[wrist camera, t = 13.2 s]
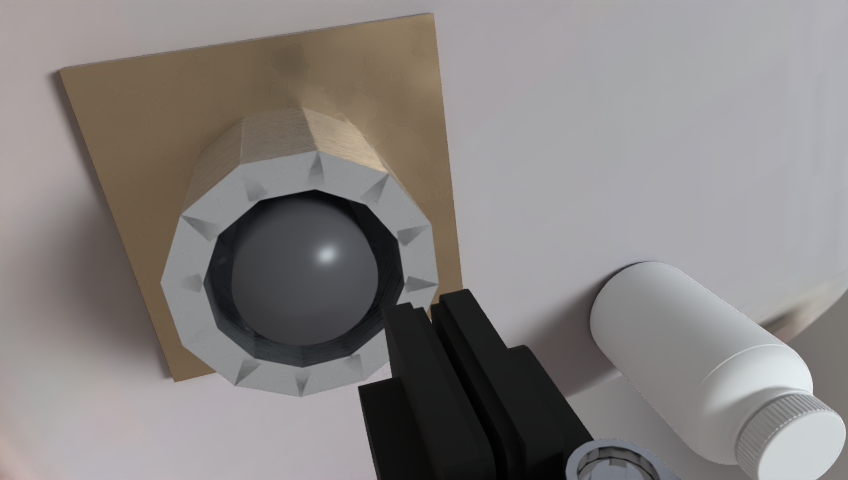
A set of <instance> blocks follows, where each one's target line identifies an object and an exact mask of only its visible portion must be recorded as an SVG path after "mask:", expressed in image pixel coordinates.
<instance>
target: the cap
mask: <svg viewBox="0 0 848 480" xmlns="http://www.w3.org/2000/svg"><path fill="white" fill-rule="evenodd" d="M377 285H378V270H377V264H376V260H375V258H374V255H373V253H372V251H371V248H370V246H369V244H368V241H367V239H366V237H365V235H364V232H363V230H362V228H361V225H360V223H359V221H358V218H357V216H356V214H355V212H354V210H353V208H352V206H351V205H350V203H349V202H348V201H347V200H346V198H343V197H340V196H336V195H333V194H330V193H327V192H324V191H320V190H317V189H313V190H308V191H303V192H298V193H293V194H288V195H283V196H278V197H273V198H268V199H263V200H259V201H258V202H257V203H256V204H255V205H254V206H252V207H251V208H250V209H249V210H248V211H246V212H245V213H244V214H243V215H242V216H240V217H239V218H238V221H237V225H236V229H235V242H234V255H233V268H232V281H231V287H232V295H233V300H234V303H235V305H236V308H237V310H238V312H239V313H240V315H241V317H242V318H243V319H244V320H245V322H246V323H247V324H248V325H249V326H250V327H251V328H252V329H254V330H255V331H256V332H258V333H259V334H261V335H262V336H264V337H266V338H268V339H271V340H273V341H276V342H279V343H283V344H289V345H314V344H319V343H323V342H326V341H329V340H332V339H334V338H336V337H339V336H340V335H342V334H344V333H346V332H347V331H349V330H350V329H351V328H353V327H354V326H355V325H356V324H357V323H358V322H359V321H360V320H361V319H362V318H363V317H364V315H365V314H366V313H367V311H368V310H369V308H370V306H371V304H372V302H373V300H374V297H375V294H376V291H377Z"/></svg>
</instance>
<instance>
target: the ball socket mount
mask: <svg viewBox="0 0 848 480" xmlns="http://www.w3.org/2000/svg"><path fill="white" fill-rule="evenodd" d="M59 73H60V76H61V79H62V81H63V84H64V87H65V89H66V92H67V95H68V97H69V100H70V103H71V105H72V108H73V111H74V114H75V116H76V119H77V122H78V124H79V127H80V130H81V132H82V135H83V138H84V140H85V143H86V146H87V148H88V151H89V154H90V157H91V159H92V162H93V165H94V167H95V170H96V173H97V175H98V178H99V181H100V183H101V186H102V189H103V191H104V194H105V197H106V200H107V202H108V205H109V208H110V210H111V213H112V216H113V218H114V221H115V224H116V226H117V229H118V232H119V234H120V237H121V240H122V243H123V245H124V248H125V251H126V253H127V256H128V259H129V261H130V264H131V267H132V269H133V272H134V275H135V277H136V280H137V283H138V286H139V288H140V291H141V294H142V296H143V299H144V302H145V304H146V307H147V310H148V312H149V315H150V318H151V321H152V323H153V326H154V329H155V331H156V334H157V337H158V339H159V342H160V345H161V347H162V350H163V353H164V355H165V358H166V361H167V364H168V366H169V369H170V372H171V374H172V377H173V380H174V382H178V381H183V380H187V379H191V378H195V377H199V376H203V375H207V374H211V373H215V372H218V373H219V374H220V375H222V376H223V377H224V378H226V379H227V380H228V381H229V382H231V383H232V384H233V385H234V386H240V387H246V388H251V389H257V390H263V391H269V392H274V393H280V394H286V395H292V396H298V397H303V396H307V395H310V394H314V393H318V392H322V391H326V390H330V389H333V388H337V387H341V386H345V385H349V384H353V383H356V382H360V381H364V380H366V379H367V378H368V377H369V376H371V375H372V374H373V373H374V372H376V371H377V370H378V369H379V368H381V367H382V366H383V365H384V364H385V363H387V362H388V361H389V354H388V348H387V342H386V335H385V329H384V323H383V316H382V308H384V307H389V306H393V305H398V304H402V303H406V302H411V304H412V306H413V308H419V307H423V308H424V309H425V311H426V313H427V315H428V317H429V319H431V311H430V306H431V305H432V304H436V303H439V296H440V295H441V294H446V293H450V292H454V291H459V290H463V285H462V276H461V266H460V257H459V248H458V238H457V229H456V219H455V210H454V200H453V191H452V182H451V172H450V163H449V153H448V144H447V135H446V125H445V116H444V106H443V97H442V87H441V78H440V69H439V59H438V50H437V40H436V31H435V21H434V13H423V14H416V15H409V16H403V17H396V18H389V19H383V20H376V21H369V22H363V23H356V24H349V25H343V26H336V27H329V28H323V29H316V30H309V31H303V32H296V33H289V34H283V35H276V36H269V37H263V38H256V39H249V40H243V41H236V42H229V43H223V44H216V45H209V46H203V47H196V48H189V49H183V50H176V51H169V52H163V53H156V54H149V55H143V56H136V57H129V58H123V59H116V60H109V61H103V62H96V63H89V64H83V65H76V66H69V67H64V68H62V69H59ZM313 189H317V190H320V191H324V192H327V193H330V194H333V195H336V196H340V197H343V198H346V200H347V201H348V202H349V203H350V205H351V206H352V208H353V210H354V212H355V214H356V216H357V218H358V221H359V223H360V225H361V228H362V230H363V232H364V235H365V237H366V239H367V241H368V244H369V246H370V248H371V251H372V253H373V255H374V258H375V260H376V264H377V270H378V285H377V291H376V294H375V297H374V300H373V302H372V304H371V306H370V308H369V310H368V311H367V313H366V314H365V315H364V317H363V318H362V319H361V320H360V321H359V322H358V323H357V324H356V325H355V326H354V327H353V328H351V329H350V330H349V331H347V332H346V333H344V334H342V335H340V336H339V337H336V338H334V339H332V340H329V341H326V342H323V343H319V344H314V345H289V344H283V343H279V342H276V341H273V340H271V339H268V338H266V337H264V336H262V335H261V334H259V333H258V332H256V331H255V330H254V329H252V328H251V327H250V326H249V325H248V324H247V323H246V322H245V320H244V319H243V318H242V317H241V315H240V313H239V312H238V310H237V308H236V305H235V303H234V300H233V295H232V287H231V281H232V268H233V255H234V242H235V229H236V225H237V221H238V218H239V217H240V216H242V215H243V214H244V213H245V212H246V211H248V210H249V209H250V208H251V207H252V206H254V205H255V204H256V203H257V202H258V201H259V200H263V199H268V198H273V197H278V196H283V195H288V194H293V193H298V192H303V191H308V190H313Z"/></svg>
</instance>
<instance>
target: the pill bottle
mask: <svg viewBox="0 0 848 480" xmlns="http://www.w3.org/2000/svg"><path fill="white" fill-rule="evenodd" d="M590 329H591V333H592V336H593V339H594V341H595V342H596V344H597V345H598V347H599V348H600V350H601V351H602V352H603V353H604V354H605V355H606V357H607V358H608V359H609V360H610V361H611V362H612V363H613V364H614V365H615V366H616V367H617V369H618V370H619V371H620V372H621V373H622V374H623V375H624V376H625V377H626V378H627V379H628V381H629V382H630V383H631V384H632V385H633V386H634V387H635V388H636V389H637V390H638V391H639V392H640V394H641V395H642V396H643V397H644V398H645V399H646V400H647V401H648V402H649V404H650V405H651V406H652V407H653V408H654V409H655V410H656V411H657V412H658V413H659V415H661V417H662V418H663V419H664V420H665V421H666V422H667V423H668V424H669V425H670V426H671V428H672V429H673V430H674V431H675V432H676V433H677V434H678V435H679V436H680V438H682V440H683V441H684V442H685V443H686V444H687V445H688V446H689V447H690V448H691V449H692V450H693V451H694V452H696V453H697V454H699V455H701V456H702V457H704V458H706V459H708V460H710V461H713V462H716V463H720V464H739V465H740V467H741V468H742V469H743V470H744V471H745V472H746V473H747V474H748V475H749V476H750V477H751V478H752V480H816V479H817V478H819V477H820V476H821V475H822V474H824V473H825V472H826V471H827V470H828V469H829V468H830V466H831V465H832V464H833V463H834V461H835V460H836V459H837V457H838V456H839V454H840V452H841V450H842V448H843V445H844V442H845V437H846V430H845V425H844V423H843V420H842V419H841V417H840V416H839V415H838V414H837V413H836V412H834V411H833V410H832V409H831V408H829V407H828V406H827V405H825V404H824V403H823V402H821V401H820V400H819V399H817V398H815V397H814V396H813V395H812V393H813V384H812V378H811V375H810V372H809V370H808V368H807V366H806V364H805V363H804V361H803V360H802V359H801V357H800V356H799V355H798V354H797V353H796V352H795V351H794V350H793V349H791V348H790V347H788V346H787V345H786V344H784V343H783V342H782V341H780V340H779V339H777V338H776V337H774V336H773V335H772V334H770V333H769V332H767V331H766V330H764V329H763V328H762V327H760V326H759V325H757V324H756V323H754V322H753V321H752V320H750V319H749V318H747V317H746V316H745V315H743V314H742V313H740V312H739V311H737V310H736V309H735V308H733V307H732V306H730V305H729V304H727V303H726V302H725V301H723V300H722V299H720V298H719V297H717V296H716V295H715V294H713V293H712V292H710V291H709V290H707V289H706V288H705V287H703V286H702V285H700V284H699V283H697V282H696V281H695V280H693V279H692V278H690V277H689V276H687V275H686V274H685V273H683V272H682V271H680V270H679V269H677V268H675V267H673V266H671V265H668V264H665V263H661V262H643V263H638V264H635V265H632V266H630V267H628V268H626V269H624V270H622V271H621V272H619V273H618V274H616V275H615V276H614V277H613V278H611V279H610V280H609V281H608V282H607V283H606V284H605V286H604V287H603V288H602V289H601V291H600V292H599V294H598V296H597V297H596V299H595V301H594V304H593V307H592V310H591V315H590Z"/></svg>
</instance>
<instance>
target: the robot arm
mask: <svg viewBox="0 0 848 480" xmlns="http://www.w3.org/2000/svg"><path fill="white" fill-rule="evenodd" d="M430 311H431V320H432V324H431V322H430V319H429V317H428V315H427V313H426V311H425V309H424V308H423V307H419V308H413V306H412V304H411V302H406V303H402V304H398V305H393V306H389V307H384V308H382V316H383V323H384V329H385V335H386V342H387V348H388V354H389V360H390V366H391V373H392V378H390V379H386V380H382V381H378V382H374V383H370V384H366V385H362V386H358V391H359V396H360V401H361V407H362V412H363V417H364V422H365V427H366V431H367V436H368V441H369V445H370V450H371V454H372V459H373V463H374V467H375V471H376V475H377V480H681V479H680V478H679V477H678V476H677V475H676V474H675V473H674V472H673V471H671V469H670V468H669V467H667V466H666V465H665V464H664V463H663V462H662V461H661V460H660V459H659V458H658V457H657V456H655V455H654V454H653V453H651V452H650V451H649V450H647V449H646V448H644V447H642V446H639V445H637V444H635V443H633V442H630V441H624V440H620V439H615V438H614V439H598V440H594V439H593V438H592V436H591V435H590V433H589V432H588V431H587V429H586V428H585V426H584V425H583V424H582V422H581V421H580V419H579V418H578V416H577V415H576V414H575V412H574V411H573V409H572V408H571V407H570V405H569V404H568V402H567V401H566V399H565V398H564V397H563V395H562V394H561V392H560V391H559V390H558V388H557V387H556V385H555V384H554V383H553V381H552V380H551V378H550V377H549V375H548V374H547V373H546V371H545V370H544V368H543V367H542V366H541V364H540V363H539V361H538V360H537V359H536V357H535V356H534V354H533V353H532V351H531V350H530V349H529V348H528V347H527V346H525V345H521V346H517V347H513V348H509V349H508V348H507V347H506V345H505V344H504V342H503V341H502V339H501V338H500V336H499V335H498V333H497V332H496V330H495V328H494V327H493V325H492V324H491V322H490V321H489V319H488V318H487V316H486V315H485V313H484V312H483V310H482V309H481V307H480V305H479V304H478V302H477V301H476V299H475V298H474V296H473V295H472V293H471V292H470V290H469V289H463V290H459V291H454V292H450V293H446V294H441V295H440V296H439V303H436V304H432V305H431V306H430Z"/></svg>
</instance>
